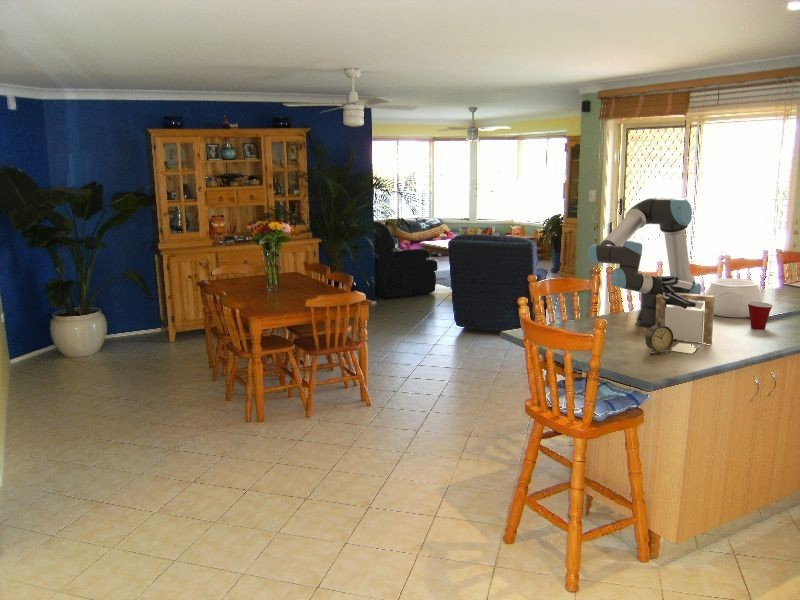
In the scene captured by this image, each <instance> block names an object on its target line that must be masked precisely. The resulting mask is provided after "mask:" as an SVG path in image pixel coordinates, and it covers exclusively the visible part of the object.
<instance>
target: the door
mask: <svg viewBox="0 0 800 600" xmlns="http://www.w3.org/2000/svg"><path fill="white" fill-rule="evenodd" d="M704 312H705V309H698V308H695V309H694V308H693V309H692V308H686V309H684V308H682V307H674V306H673V307H672V306H667V307H666V308H665V326H667V327H669V328H670V329H671V330H672V332H673V336H674V339H678V340H677V341H681V340H687V341H686V342H690V341H694V342H693V343H699V342H700V343H699V344H701V343H703V331H704Z"/></svg>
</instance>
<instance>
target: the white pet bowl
mask: <svg viewBox="0 0 800 600" xmlns="http://www.w3.org/2000/svg"><path fill="white" fill-rule="evenodd" d="M709 282H710V285H709V286H708V288H707V289H706V292H705V295H714V296H715V299H714V313H713V316H714V315H715V316H718V317H723V318H735V319H741V318H750V316H749V308H748V304H747V302H750V301H754V302H764V301H763V300H764V299H763V293H762V291H761V290H760V288H759V285H760V282H758V281H755V280H752V279H751V280H750V279H745V278H744V279H742V278H716V279H711V280H710V281H709Z"/></svg>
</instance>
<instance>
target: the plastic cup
mask: <svg viewBox="0 0 800 600" xmlns="http://www.w3.org/2000/svg"><path fill="white" fill-rule="evenodd" d="M747 304H748V308H749V316H750V317H749V322H750V329H752V330H757V331H759V330H765V329H766V327H767V322H768V319H769V316H770V312H771V310H772V308H773V307H774V305H773V304H772V303H769V302H764V301H763V302H754V301H750V302H747Z"/></svg>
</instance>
